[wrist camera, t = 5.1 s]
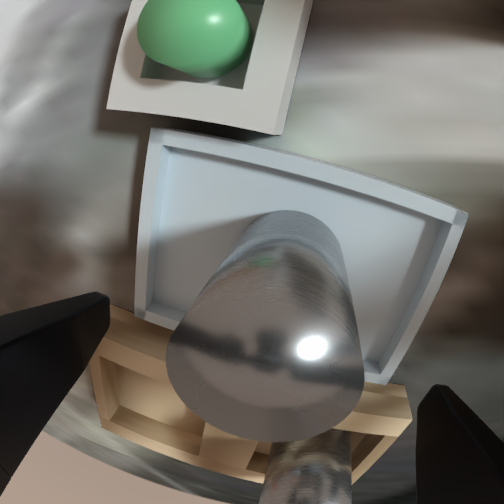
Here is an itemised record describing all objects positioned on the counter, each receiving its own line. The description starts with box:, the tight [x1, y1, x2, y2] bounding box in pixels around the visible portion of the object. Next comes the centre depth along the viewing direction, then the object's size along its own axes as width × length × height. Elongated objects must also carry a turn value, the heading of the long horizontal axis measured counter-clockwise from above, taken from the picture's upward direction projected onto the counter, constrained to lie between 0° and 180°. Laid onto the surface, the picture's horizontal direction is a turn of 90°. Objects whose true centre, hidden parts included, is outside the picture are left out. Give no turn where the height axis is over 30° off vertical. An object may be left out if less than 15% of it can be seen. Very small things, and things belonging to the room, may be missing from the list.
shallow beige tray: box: [89, 304, 413, 484], centre depth 16 cm, size 17×9×3 cm, turn 78°
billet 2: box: [259, 428, 352, 504], centre depth 13 cm, size 5×5×7 cm
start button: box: [137, 0, 253, 78], centre depth 8 cm, size 3×3×2 cm
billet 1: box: [166, 210, 365, 442], centre depth 10 cm, size 5×5×7 cm
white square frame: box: [106, 0, 313, 135], centre depth 10 cm, size 6×6×3 cm
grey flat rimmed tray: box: [134, 127, 469, 385], centre depth 13 cm, size 13×9×1 cm
